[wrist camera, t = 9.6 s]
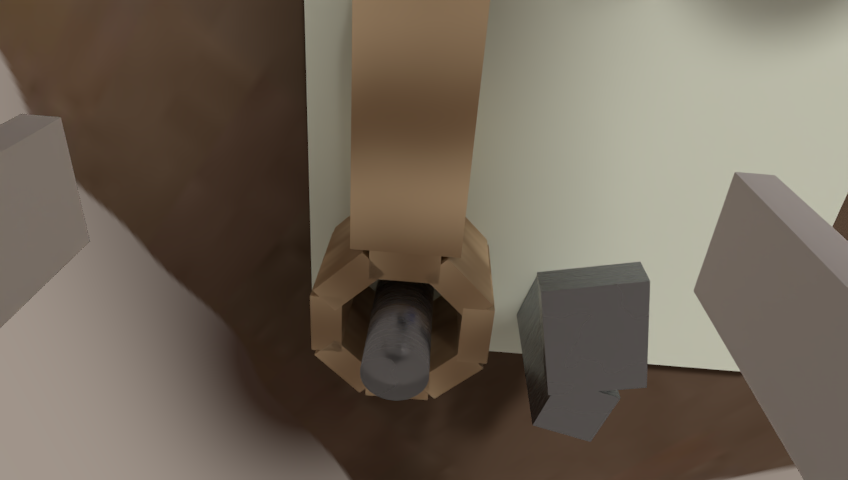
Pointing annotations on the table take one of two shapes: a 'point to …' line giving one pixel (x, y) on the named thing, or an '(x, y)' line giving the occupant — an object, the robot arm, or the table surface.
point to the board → (616, 139)
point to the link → (410, 187)
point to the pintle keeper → (532, 343)
